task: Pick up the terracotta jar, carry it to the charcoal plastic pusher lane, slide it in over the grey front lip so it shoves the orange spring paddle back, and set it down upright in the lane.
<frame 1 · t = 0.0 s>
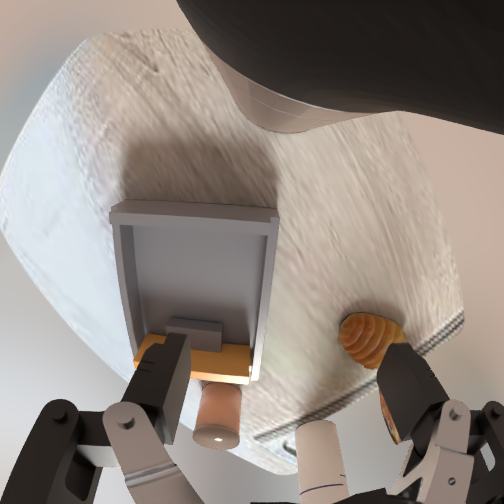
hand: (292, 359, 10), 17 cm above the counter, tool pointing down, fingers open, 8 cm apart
pusher: (192, 348, 28), point 3 cm above the counter, slide at 0.0 cm
pastry: (369, 335, 31), on the counter
jar: (221, 394, 35), on the counter
tin: (388, 391, 36), on the counter
cylindrical container: (315, 429, 39), on the counter
lane: (196, 283, 28), on the counter
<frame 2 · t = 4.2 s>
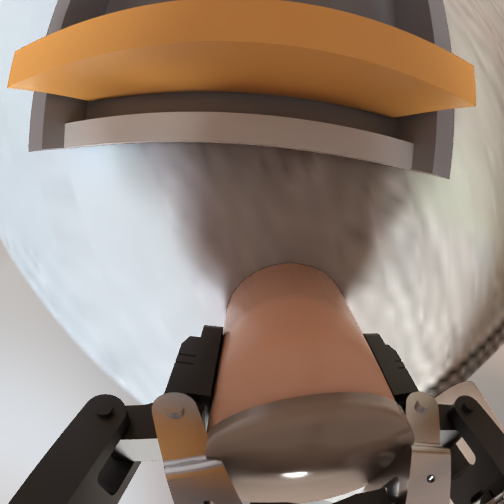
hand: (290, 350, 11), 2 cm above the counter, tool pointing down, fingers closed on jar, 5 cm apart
pusher: (235, 15, 6), point 3 cm above the counter, slide at 0.0 cm
jar: (286, 318, 13), on the counter, touching gripper
cylindrical container: (442, 408, 17), on the counter
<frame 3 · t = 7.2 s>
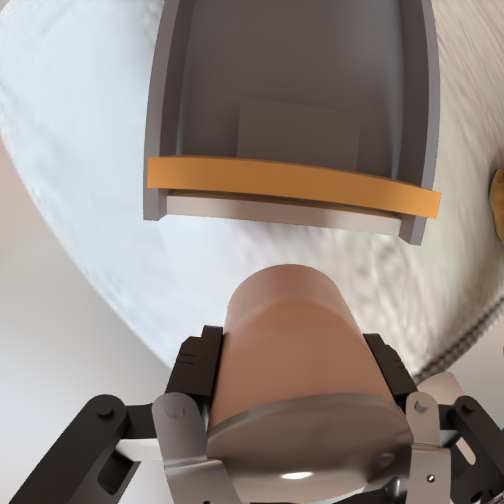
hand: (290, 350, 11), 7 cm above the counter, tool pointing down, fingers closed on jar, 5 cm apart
pusher: (302, 145, 12), point 3 cm above the counter, slide at 0.0 cm
jar: (286, 318, 13), point 5 cm above the counter, touching gripper
cylindrical container: (427, 393, 23), on the counter
lane: (301, 46, 12), on the counter
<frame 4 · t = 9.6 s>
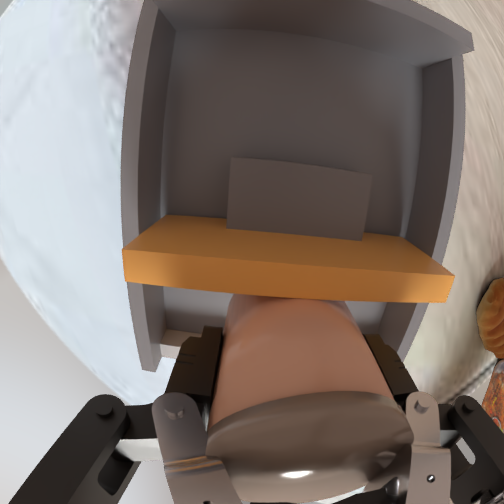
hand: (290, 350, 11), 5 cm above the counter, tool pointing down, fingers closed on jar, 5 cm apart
pusher: (302, 218, 11), point 3 cm above the counter, slide at 5.0 cm
pastry: (497, 312, 16), on the counter
jar: (286, 319, 13), point 3 cm above the counter, touching gripper
tin: (495, 379, 20), on the counter
lane: (296, 176, 13), on the counter
when the fingers open (4 cm above the counter, at t = 10.3 s): jar stays where it is, resting on lane, pusher.
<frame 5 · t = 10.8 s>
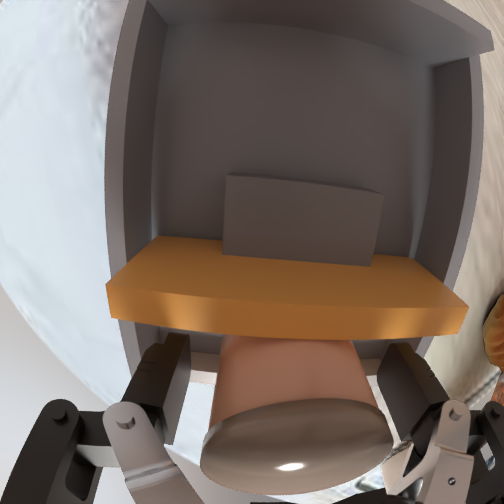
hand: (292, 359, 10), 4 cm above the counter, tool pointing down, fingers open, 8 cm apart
pusher: (307, 245, 10), point 3 cm above the counter, slide at 4.6 cm, touching jar
pastry: (503, 325, 15), on the counter
jar: (282, 322, 14), point 1 cm above the counter, touching lane, pusher
tin: (499, 388, 19), on the counter
cylindrical container: (406, 456, 22), on the counter
lane: (300, 185, 12), on the counter
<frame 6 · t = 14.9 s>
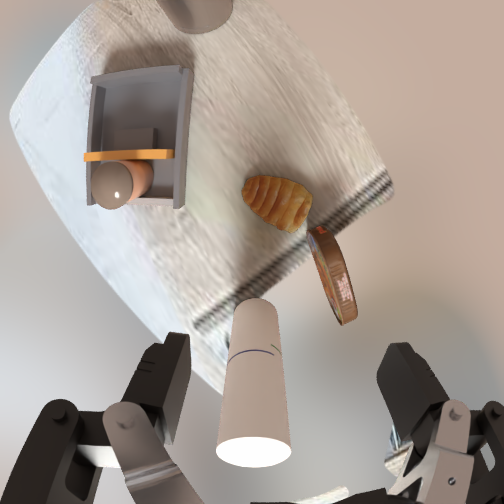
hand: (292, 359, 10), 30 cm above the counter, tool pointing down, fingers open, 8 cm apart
pusher: (130, 143, 32), point 3 cm above the counter, slide at 4.6 cm, touching jar
pastry: (278, 201, 38), on the counter
jar: (136, 177, 36), point 1 cm above the counter, touching lane, pusher
tin: (326, 264, 41), on the counter
cylindrical container: (255, 316, 45), on the counter
lane: (140, 132, 35), on the counter
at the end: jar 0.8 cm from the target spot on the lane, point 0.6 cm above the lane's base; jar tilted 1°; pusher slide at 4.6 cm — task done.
